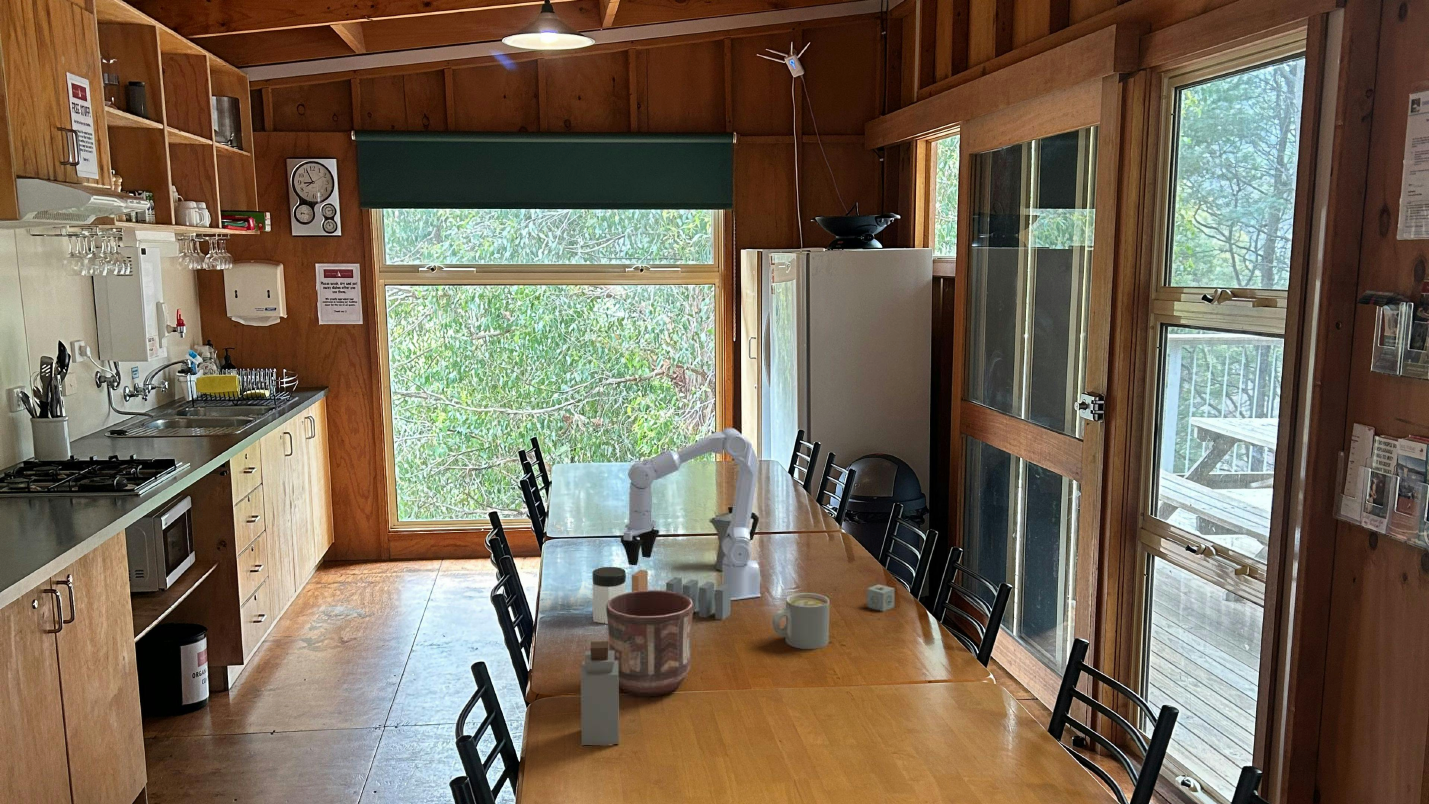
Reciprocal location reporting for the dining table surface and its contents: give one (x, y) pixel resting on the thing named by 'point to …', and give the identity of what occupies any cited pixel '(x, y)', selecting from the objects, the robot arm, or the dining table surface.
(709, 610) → the domino
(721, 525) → the coffeepot
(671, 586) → the domino
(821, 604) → the coffee mug
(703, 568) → the dining table surface
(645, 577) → the domino
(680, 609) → the pottery
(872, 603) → the white cube
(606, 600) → the jar
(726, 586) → the domino
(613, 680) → the perfume bottle
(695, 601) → the domino
